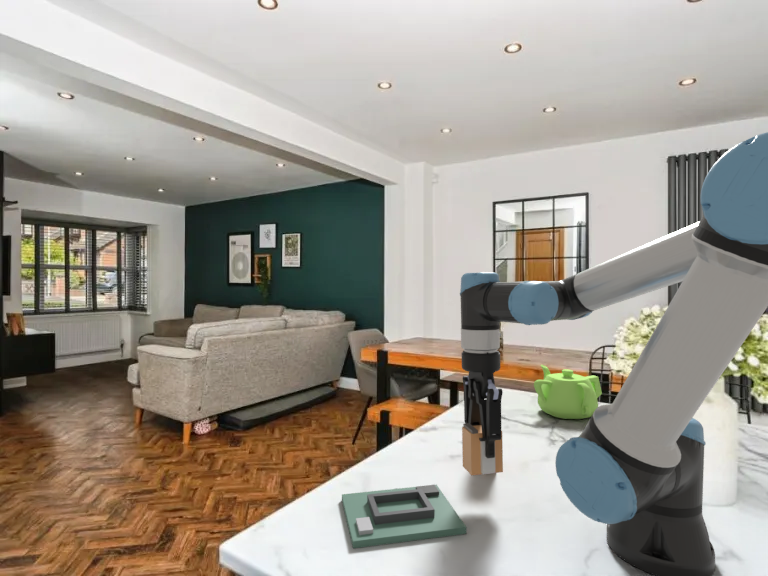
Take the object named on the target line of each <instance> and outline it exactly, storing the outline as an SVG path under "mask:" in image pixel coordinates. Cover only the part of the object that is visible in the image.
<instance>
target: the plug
mask: <svg viewBox="0 0 768 576" xmlns="http://www.w3.org/2000/svg"><path fill="white" fill-rule="evenodd" d="M462 425H463V426H462V427H461V428H462V429H461V431H462V433H461V436H462V440H461V441H462V442H461V443H462V467H463V468H464V470H466V471H467V473H468V474H469V475H471V476H478V475H479V476H480V475H483V474H482V473H481V451H480V440H479V438H483V437H482V427H481V425H477V426H472V425H471V424H469V423H463V424H462ZM503 456H504V455H503V430H501V440H495V473H494V474H496V473H497V474H498V473H503V471H504V469H503V468H504V466H503V465H504V464H503Z"/></svg>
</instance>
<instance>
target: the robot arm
mask: <svg viewBox="0 0 768 576" xmlns="http://www.w3.org/2000/svg"><path fill="white" fill-rule="evenodd" d="M699 197H700V205H701V208H702V212H703V213H702V214H703V215H702V217H701V219H700V220H699V221H697V222H695V223H693V224H690V225H688V226H686V227H682V228H680V229H679V230H676V231H674V232H671V233H669V234H667V235H664V236H661V237H660V238H656V239H655V240H653V241H651V242H647V243H645V244H644V245H641V246H638V247H636V248H634V249H631V250H628V251H627V252H625V253H622V254H620V255H617V256H615V257H613V258H611V259H608V260H606V261H604V262H601V263H598V264H596V265H594V266H592V267H590V268H587V269H585V270H582V271H581V272H578V273H576V274H574V275H571V276H568V277H566V278H563V279H561V280H553V281H552V280H548V281H547V280H546V281H545V280H544V281H543V280H542V281H538V280H524V281H522V280H521V281H505V282H504V281H503V282H502V281H500V276H499V274H498V273H497V272H492V271H490V272H488V271H486V272H485V271H482V272H465V273H464V274H462V275H461V277H460V278H461V279H460V291H459V296H460V324H461V325H460V327H461V328H460V348H461V349H463V350H462V351H461V368H462V370H464V371H465V372H468V373H467V374H468V375H463V376H462V383H463V407H464V409H463V414H464V417H463V418H464V424H466V423H469V424H471V425H472V426H477V425H481V427H482V437H483V438H479V440H480V451H481V473H482V474H481V475H489V474H496V473H495V440H501V431H502V398H503V393H504V392H503V389H502V387H498V388H497V387H496V384H495V383H496V381H495V377H494V374H495V373H496V372H499V371H500V369H501V353H500V352H499V349H500V348H501V345H500V344H501V341H500V340H501V339H500V338H501V336H502V333H501V331H500V329H501V327H500V326H501V325H500V324H501V322H502V323H511V324H513V323H514V324H523V325H526V326H532V325H534V326H535V325H538V326H539V325H540V326H541V325H547V324H548V323H550V322H552V321H563V320H564V321H566V320H568V321H574V320H578V319H583V318H586V317H588V316H590V315H591V314H592V313H593V312H595V311H597V310H600V309H603V308H607V307H610V306H611V305H615V304H617V303H621V302H625V301H628V300H630V299H633V298H637V297H639V296H643V295H645V294H648V293H651V292H655V291H657V290H661V289H664V288H667V287H669V286H673V285H676V284H678V283H680V285H679V287H678V288H677V291H676V292H675V294H674V296H673V297H672V299H671V300H670V302H669V304H668V305H667V308H666V309H665V311H664V313H663V314H662V316H661V318H660V320H659V322H658V323H657V325H656V327H655V328H654V330H653V333H652V334H651V336H650V337H649V339H648V341H647V343H646V345H645V346H644V348H643V350H642V351H641V353H640V355H639V356H638V358H637V360H636V362H635V364H634V365H633V367H632V369H631V370H630V372H629V374H628V376H627V377H626V379H625V381H624V383H623V384H622V387H621V388H620V390H619V391H618V392H617V395H616V396H615V399H614V400H613V402H612V403H611V404H610V403H609V404H603V405H598V407H597V408H596V410H595V411H594V413H593V415H592V416H591V417H589V420H588V421H587V423H586V425H585V427H584V429H583V431H582V432H581V434H579V436H574V437H571V438H569V439H568V440H566V441H565V442H564V443H563V444H562V445H560V447H559V448H558V450H557V452H556V455H555V470H556V471H555V472H556V476H557V477H558V479H559V481H560V483H559V484H560V486H561V489H562V492H564V494H565V495H566V497H567V498H568V500H569V501H570V503H571V504H572V505H573V506H574V507H575V508H576V509H577V511H579V512H581V514H583V515H584V516H586V517H587V518H589V519H590V520H592V521H594V522H598V523H602V524H604V525H605V524H606V542H607V544H608V545H609V547H610V549H611V550H612V552H614V554H616V555H617V556H618V557H620V559H622V560H623V561H625V562H626V563H628V564H630V565H632V566H634V567H635V568H637V569H639V570H642V571H644V572H646V573H649V574H652V575H655V576H712V575H713V574H714V573H715V570H716V551H715V548H714V545H713V543H712V542H711V541H710V535H709V532H708V529H707V525H706V522H705V519H704V517H703V499H704V498H703V496H704V495H703V494H704V493H703V492H704V468H705V467H704V464H705V460H704V459H705V446H706V441H705V435H704V427H703V425H702V423H701V422H700V421H699V420H698V419H696V418H694V416H695V414H696V413H697V411H698V410H699V409H700V407H701V405H703V403H704V401H705V400H706V398H707V397H708V395H709V394H710V392H711V391H712V390H713V388H714V386H715V385H716V383H718V381H719V379H720V377H721V376H722V375H723V373H724V372H725V370H726V369H727V367H728V366H729V364H730V363H731V362H732V360H733V359H734V357H735V356H736V354H737V352H738V351H739V350H740V348H741V347H742V345H743V344H744V342H745V341H746V339H747V338H748V337H749V335H750V333H751V332H752V330H753V329H754V327H755V326H756V325H757V323H758V321H760V318H761V317H762V315H763V314H764V313H765V311H766V310H767V308H768V132H767V131H766V132H763V133H759V134H757V135H755V136H752V137H749V138H748V139H746V140H744V141H741V142H739V143H738V144H736V145H735V146H733V147H731V148H730V149H728V150H727V151H726V152H724V153H723V154H722V155H721V156H720V157H719V158H718V160H717V161H715V163H714V164H712V167H710V169H709V171H708V173H707V174H706V175H705V178H704V181H703V183H702V186H701V190H700V196H699Z"/></svg>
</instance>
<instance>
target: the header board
mask: <svg viewBox="0 0 768 576" xmlns="http://www.w3.org/2000/svg"><path fill="white" fill-rule="evenodd" d="M341 502H342V507H343V512H344V515H345V516H344V517H345V520H346V524H347V528H348V532H349V536H350V541H351V542H350V543H351V545H352V549H359V548H360V549H361V548H365V547H366V548H367V547H374V546H375V547H376V546H380V545H382V546H383V545H389V544H396V543H397V544H398V543H405V542H411V541H412V542H413V541H420V540H429V539H435V538H442V537H452V536H460V535H467V526H466V524H465V522H463V520H462V519H461V517H460V515H458V513H457V512H456V510H455V508H454V507H453V506H452V505H451V503H450V502H449V500H448V498H447V497H446V496H445V495H444V492H442V490H441V488H440V487H439V486H438V484H429V485H428V484H427V485H420V486H419V485H418V486H411V487H410V486H409V487H402V488H401V487H399V488H390V489H380V490H372V491H371V490H370V491H362V492H361V491H360V492H353V493H344V494H343V493H342V494H341Z"/></svg>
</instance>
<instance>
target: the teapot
mask: <svg viewBox="0 0 768 576" xmlns="http://www.w3.org/2000/svg"><path fill="white" fill-rule="evenodd" d="M540 368H541V369H542V371H543V379H536V380H535V381H534V382H533V387H534V390H535V392H536V393H537V405H538V406H539V408H540V409H541V411H542V412H544V413H545V414H547V415H550V416H552V417H554V418H559V419H565V420H581V419H587V418H589V419H590V418H591V416H592V415H593V413H594V411H595V410H596V408H597V407H599V400H598V398H599V397H600V396H601V395H603V392H602V387H601V383H600V379H599V378H600V377H599V376H598V375H597V376H596V375H592V374H591V375H588V376H583V375H580V374H577V373H574V370H572V369H568V368H567V369H566V368H565V369H562V370H561V372H559V373H558V372H557V373H551V371H550V369H549V367H547V366H546V365H544V364H540Z"/></svg>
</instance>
